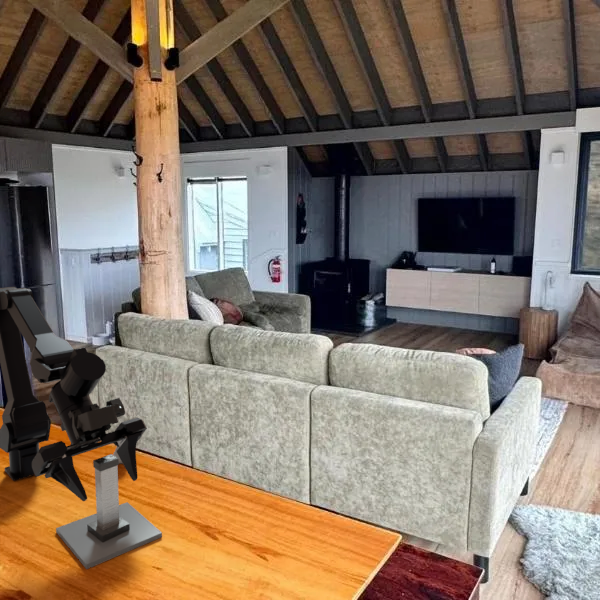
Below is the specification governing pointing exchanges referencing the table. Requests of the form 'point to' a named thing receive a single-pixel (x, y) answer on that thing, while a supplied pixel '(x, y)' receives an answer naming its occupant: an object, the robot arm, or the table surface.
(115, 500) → the tray topped pillar
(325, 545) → the table surface
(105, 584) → the table surface
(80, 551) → the plate
